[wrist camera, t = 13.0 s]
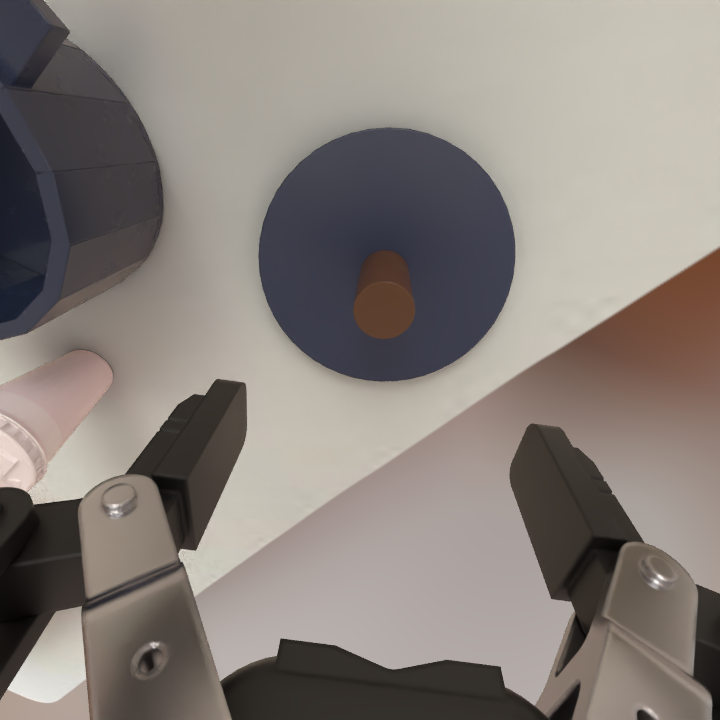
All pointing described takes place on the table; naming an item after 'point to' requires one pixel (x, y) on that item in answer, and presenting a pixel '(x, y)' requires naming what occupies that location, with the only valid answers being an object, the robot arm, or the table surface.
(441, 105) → the table surface
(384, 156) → the lid
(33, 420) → the smoothie
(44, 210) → the pot
